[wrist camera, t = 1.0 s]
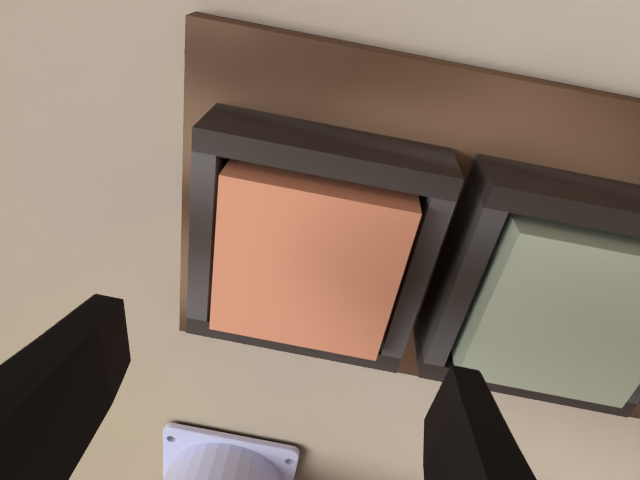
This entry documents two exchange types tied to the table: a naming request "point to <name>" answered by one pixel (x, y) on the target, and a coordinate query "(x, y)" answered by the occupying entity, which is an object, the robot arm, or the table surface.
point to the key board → (401, 165)
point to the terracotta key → (308, 258)
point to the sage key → (557, 312)
